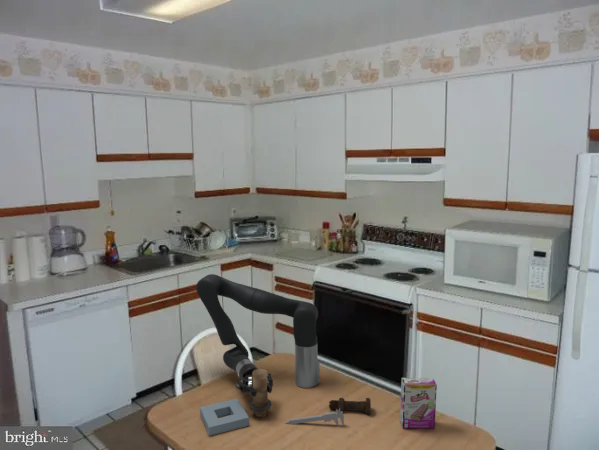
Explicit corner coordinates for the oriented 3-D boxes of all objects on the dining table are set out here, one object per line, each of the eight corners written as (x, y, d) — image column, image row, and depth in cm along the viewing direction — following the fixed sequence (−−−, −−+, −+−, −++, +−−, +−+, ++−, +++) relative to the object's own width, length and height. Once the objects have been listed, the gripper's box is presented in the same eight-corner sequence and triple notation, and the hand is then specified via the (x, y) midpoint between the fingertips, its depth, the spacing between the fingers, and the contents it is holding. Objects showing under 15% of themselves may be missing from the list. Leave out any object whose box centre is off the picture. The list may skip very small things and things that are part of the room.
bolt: (329, 412, 167) (370, 415, 165) (328, 412, 163) (370, 415, 160) (330, 396, 170) (370, 398, 167) (328, 395, 165) (370, 397, 162)
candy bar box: (402, 429, 153) (403, 384, 151) (399, 421, 158) (400, 377, 156) (435, 429, 153) (437, 384, 151) (431, 421, 158) (433, 377, 156)
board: (237, 405, 169) (237, 398, 169) (249, 425, 157) (249, 417, 156) (200, 414, 163) (199, 407, 163) (209, 435, 151) (208, 427, 150)
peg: (267, 406, 168) (266, 365, 166) (274, 416, 162) (273, 374, 159) (247, 410, 165) (246, 369, 163) (254, 421, 158) (253, 378, 156)
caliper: (343, 425, 157) (343, 408, 156) (343, 427, 155) (343, 410, 155) (285, 422, 158) (285, 406, 158) (285, 424, 157) (284, 407, 156)
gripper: (229, 366, 172) (243, 386, 156) (265, 359, 177) (281, 378, 162) (230, 385, 173) (243, 407, 157) (265, 377, 179) (281, 397, 163)
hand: (262, 392), depth 160 cm, fingers closed on peg, 5 cm apart
